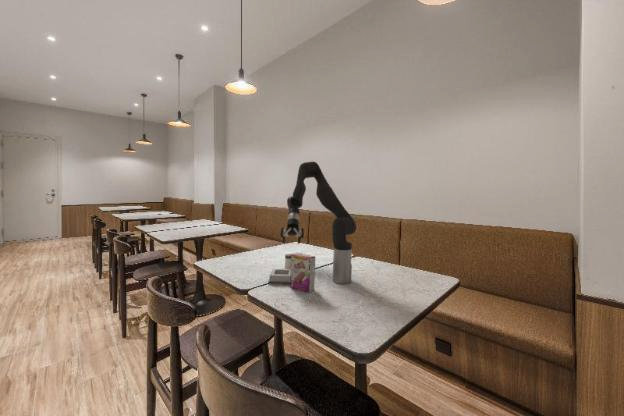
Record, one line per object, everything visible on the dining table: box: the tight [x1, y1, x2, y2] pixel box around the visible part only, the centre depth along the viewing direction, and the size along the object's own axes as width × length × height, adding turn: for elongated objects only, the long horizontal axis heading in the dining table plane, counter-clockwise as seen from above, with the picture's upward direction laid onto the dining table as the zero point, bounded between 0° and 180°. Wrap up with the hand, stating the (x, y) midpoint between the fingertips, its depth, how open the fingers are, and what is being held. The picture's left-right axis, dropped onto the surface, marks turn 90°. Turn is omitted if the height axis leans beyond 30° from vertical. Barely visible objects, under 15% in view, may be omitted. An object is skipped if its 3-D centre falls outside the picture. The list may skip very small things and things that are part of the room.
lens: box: [284, 253, 292, 269], centre depth 150 cm, size 5×5×10 cm
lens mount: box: [267, 268, 291, 286], centre depth 139 cm, size 12×12×4 cm
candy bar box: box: [289, 252, 316, 293], centre depth 127 cm, size 11×5×16 cm, turn 58°
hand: (291, 243), depth 161 cm, fingers open, 8 cm apart
